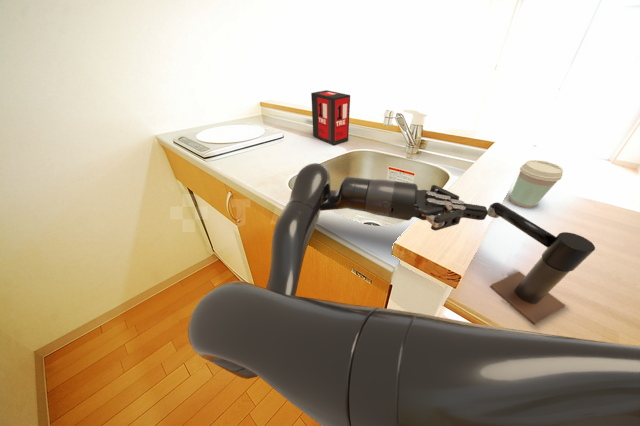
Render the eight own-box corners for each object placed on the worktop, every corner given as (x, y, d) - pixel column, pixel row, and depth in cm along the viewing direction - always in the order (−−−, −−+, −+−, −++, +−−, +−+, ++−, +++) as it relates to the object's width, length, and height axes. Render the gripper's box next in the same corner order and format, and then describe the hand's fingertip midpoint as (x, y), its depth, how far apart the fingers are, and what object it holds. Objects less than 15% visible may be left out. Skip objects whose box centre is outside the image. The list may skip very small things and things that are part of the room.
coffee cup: (546, 212, 62) (575, 173, 55) (515, 213, 63) (539, 174, 55) (525, 195, 69) (548, 158, 62) (496, 196, 69) (516, 159, 62)
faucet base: (560, 309, 41) (603, 273, 34) (531, 327, 38) (571, 291, 32) (515, 275, 47) (544, 239, 40) (487, 289, 44) (514, 252, 38)
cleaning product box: (348, 141, 110) (350, 95, 97) (333, 145, 105) (334, 98, 93) (326, 132, 120) (326, 90, 108) (313, 136, 116) (311, 92, 104)
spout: (581, 267, 35) (602, 247, 32) (562, 274, 34) (582, 254, 31) (494, 211, 46) (504, 193, 44) (478, 215, 45) (488, 197, 43)
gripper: (389, 196, 54) (471, 209, 50) (383, 233, 44) (485, 252, 40) (395, 168, 50) (486, 179, 45) (389, 201, 40) (505, 219, 35)
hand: (485, 213), depth 42 cm, fingers closed
